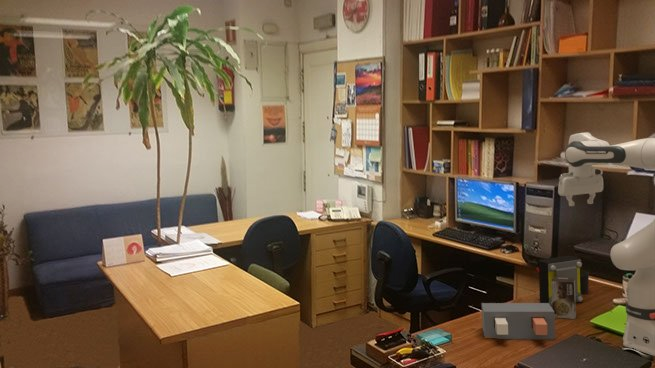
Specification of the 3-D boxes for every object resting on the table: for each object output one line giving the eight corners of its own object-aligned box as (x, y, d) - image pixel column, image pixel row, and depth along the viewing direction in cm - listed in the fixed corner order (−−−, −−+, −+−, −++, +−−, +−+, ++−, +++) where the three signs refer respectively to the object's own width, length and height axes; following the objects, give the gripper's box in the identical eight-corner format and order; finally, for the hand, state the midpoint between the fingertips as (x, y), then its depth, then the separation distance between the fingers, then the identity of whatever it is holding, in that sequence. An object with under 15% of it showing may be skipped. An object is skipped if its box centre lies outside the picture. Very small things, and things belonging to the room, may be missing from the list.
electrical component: (551, 308, 244) (550, 264, 242) (537, 301, 254) (536, 259, 252) (584, 302, 249) (584, 259, 247) (569, 296, 258) (568, 255, 257)
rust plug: (547, 334, 203) (547, 324, 203) (536, 334, 204) (535, 324, 203) (541, 324, 213) (541, 314, 213) (531, 324, 214) (530, 314, 214)
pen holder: (573, 288, 270) (573, 268, 269) (592, 291, 263) (592, 271, 262) (563, 292, 264) (563, 272, 264) (583, 296, 257) (582, 275, 256)
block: (555, 339, 210) (554, 311, 209) (484, 338, 215) (483, 311, 213) (549, 329, 220) (548, 303, 219) (482, 329, 225) (481, 303, 224)
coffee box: (576, 314, 235) (575, 277, 233) (575, 319, 229) (574, 282, 227) (553, 312, 239) (552, 276, 237) (551, 317, 233) (551, 280, 231)
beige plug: (508, 334, 206) (507, 324, 205) (497, 334, 207) (496, 324, 206) (504, 324, 216) (504, 314, 216) (494, 324, 217) (493, 314, 216)
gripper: (565, 174, 219) (565, 208, 221) (605, 170, 225) (606, 203, 227) (554, 173, 225) (554, 206, 227) (594, 169, 231) (594, 201, 233)
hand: (581, 204), depth 227 cm, fingers open, 8 cm apart
